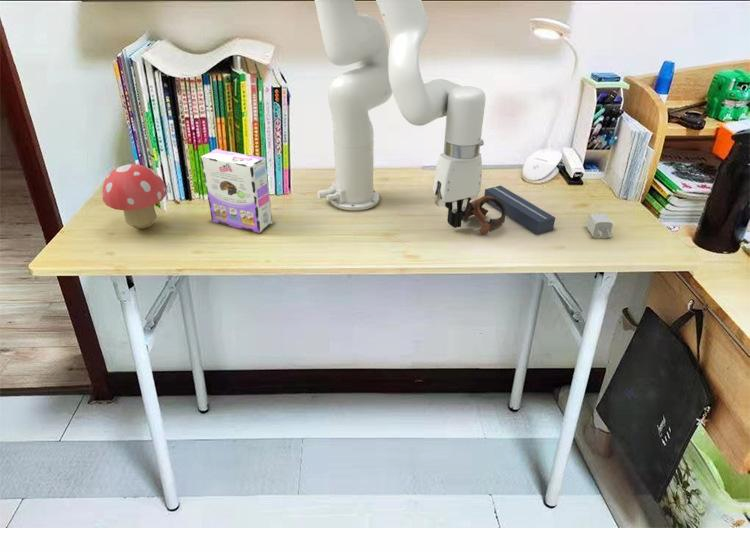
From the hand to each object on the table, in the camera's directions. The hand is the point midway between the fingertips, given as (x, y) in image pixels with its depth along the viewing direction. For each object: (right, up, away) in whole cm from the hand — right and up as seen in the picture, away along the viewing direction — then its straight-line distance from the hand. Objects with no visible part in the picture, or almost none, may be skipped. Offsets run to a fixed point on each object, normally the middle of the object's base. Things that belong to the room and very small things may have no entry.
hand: (454, 224), depth 128 cm
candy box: (-50, +1, +4) cm, 50 cm away
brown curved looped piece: (+6, 0, +4) cm, 7 cm away
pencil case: (+17, +3, +9) cm, 19 cm away
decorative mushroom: (-72, -1, +1) cm, 72 cm away
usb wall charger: (+33, -3, 0) cm, 33 cm away
